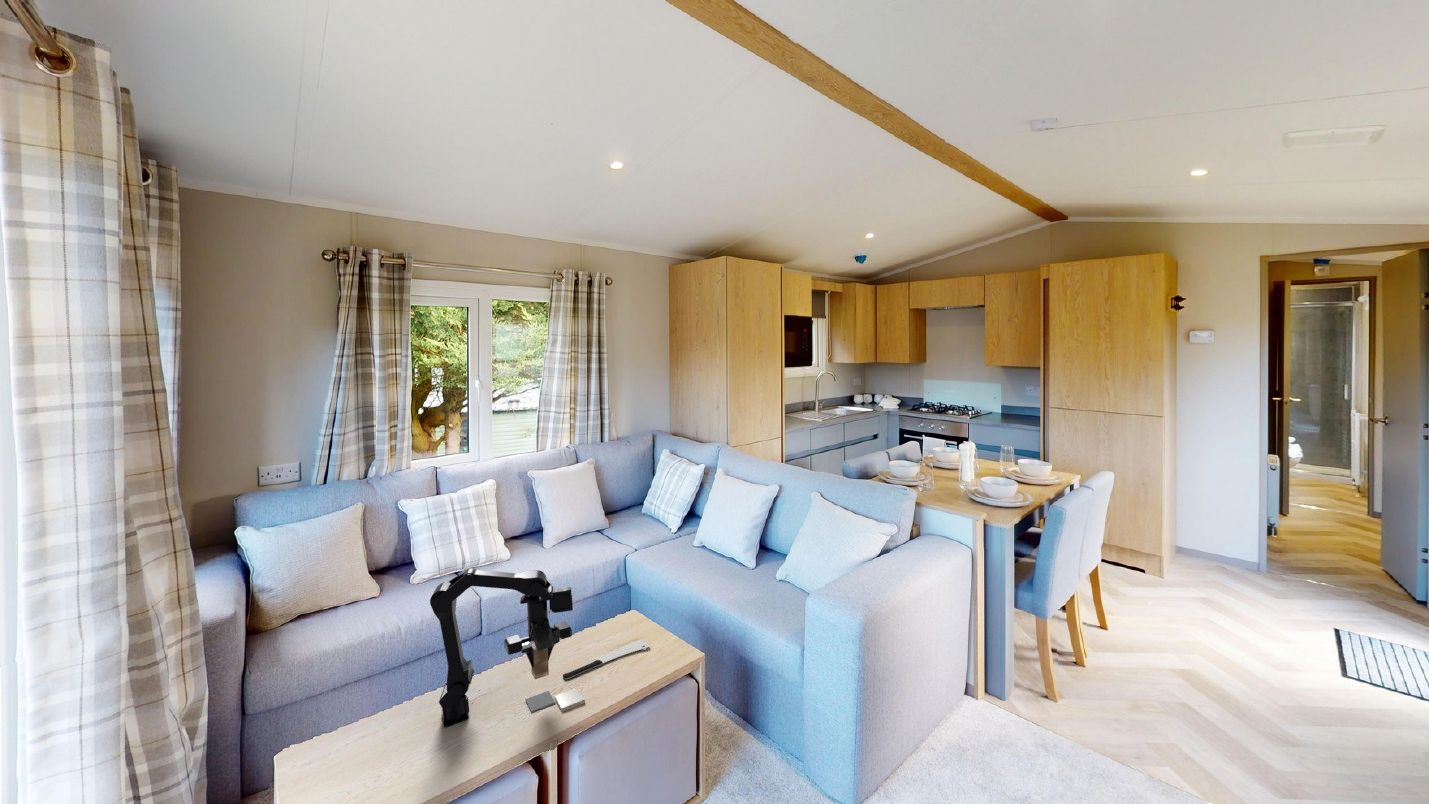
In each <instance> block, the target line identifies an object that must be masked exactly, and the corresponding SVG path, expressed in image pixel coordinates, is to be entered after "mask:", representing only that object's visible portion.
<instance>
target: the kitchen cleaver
mask: <svg viewBox="0 0 1429 804" xmlns="http://www.w3.org/2000/svg"><path fill="white" fill-rule="evenodd" d="M649 648H650V645H649V644H648V643H647V642H646V641H644V640H642V639H637V640H635V641H632V642H630V643H627V644H626V645H623V646H620V647H618V648H616V649H614V650H611V651H608V652H606V653H604V654H602V655H599V656H597V657H595V658H593V659H594V661H593V662H591V663H588V664H586V665H583V666H582V667H578V668H576V669H574V670H571V671H569V672H565V673H563V674H562V679H563V680H564V681H568V680H569V681H570V680H571V679H574V678H575V677H577V676H580V675H582V674H585V673H587V672H589V671H592V670H594V669H596V668H598V667H601V666H603V665H604V664H605V663H608V662H610V661H613V660H615V659H618V658H620V657H623V656H626V655H629V654H632V653H634V652H638V651H642V650H645V649H649Z"/></svg>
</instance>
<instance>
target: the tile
mask: <svg viewBox="0 0 1429 804" xmlns="http://www.w3.org/2000/svg"><path fill="white" fill-rule="evenodd" d="M554 701H555V703H556V704H557V706H558V708H559V709H560V711H561V712H565V711H567V710H570V709H573V708H575V707H577V706H581V705H584V704H585V703H586V701H585V698H584V696H583V695H582V693H581V692H580V690H579V688H578V687H575V688H573V689H570V690H567V691H565V692H562V693H559V694H557V695H555V696H554Z"/></svg>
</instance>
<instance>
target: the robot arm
mask: <svg viewBox="0 0 1429 804" xmlns="http://www.w3.org/2000/svg"><path fill="white" fill-rule="evenodd" d="M547 578H548V577H547V575H546V574H545V572H544V571H543V570H538V569H537V570H526V571H521V572H507V571H506V572H505V571H496V570H495V571H494V570H493V571H492V570H484V569H476V568H468V569H466V570H465V571H463V572H462V573H460V574H458V575H456V576H454V577H453V578H452V579H450V580H448V581H446V582H441V583H440V584H438V585H437V586H436V588H435V590H434V591H433V593H432V594H431V596H430V599H429V603H430V604H429V605H430V606H431V609H432V612H433V614H434V616H435V617H436V618H437V619H438V621H439V626H440V630H441V635H442V640H443V647H444V651H445V657H446V662H447V675H446V676H447V677H446V683H445V684H444V686H443V689H442V692H441V695H440V698H439V700H438V703H439V705H440V707H441V720H442V725H443V728H446V727H450V726H453V725H455V724H458V723H461V722H464V721H467V720H468V719H469V718H470V717H469V713H470V703H469V702H470V701H469V697H468V695H466V694H467V692H468V691H469V688H470V685H471V684H472V680H473V677H474V675H475V670H474V669H473V660H472V659H470V660H466V659H465V657H464V653H463V647H462V641H461V636H460V631H459V625H458V620H457V615H456V612H457V600H458V599H457V598H459V597H460V596H461V595H462V594H463V593H464V592H466V591H467V590H468V589H469V588H470V587H476V588H477V587H480V588H482V587H483V588H491V589H503V590H512V591H513V590H514V591H516V592H518V593H520V594H522V596H521V597H520V601H519V603H520V604H521V605H523V604H526V605H527V606H526V607H527V616H526V617H527V618H526V620H527V633H528V635H527V636H525V637H520V636H519V634H515V635H511V636H508V637H506V638H505V639H504V642H503V644H504V649H505V651H506V652H507V655H510V656H512V655H513V654H518V653H521V654H525V655H526V657H527V659H528V662H529V664H530V667H531V666H532V667H533V665H534V663H533V656H532V648H531V644H532V643H533V644H534V643H535V646H536V649H537V650H539V651H541V650H543V649H546V648H548V662H549V661H550V657H551V655H552V652H553V650H554V647H555V646H556V645H557V644H558V643H560V639H561V640H565V639H567V638H568V639H569V638H572V637H573V632H572V631H573V630H572V627H571V626H570V624H568V622H567V621H565V620H564V621H561V622H557V623H555V624H554V625H553V626H552V627H551V626H550V622H549V617H548V615H549V613H548V602H549V611H551V613H553V614H559V613H565V612H572V611H574V610H573V595H572V587H566V588H560V589H559V588H558V589H554V586H553V585H552V584H551V583H550V581H548V579H547ZM532 667H531V668H532Z"/></svg>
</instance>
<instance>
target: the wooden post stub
mask: <svg viewBox="0 0 1429 804" xmlns="http://www.w3.org/2000/svg"><path fill="white" fill-rule="evenodd" d="M530 647H531V648H532V656H533V663H534V665H533V667H532V666H531V665H530V667H531V675H532V677H533V679H534V680H538V679H541V678H545V677H547V676H549V675H550V670H549V661H548V648H546V649H543V650H541V651H539V650H537V649H536V646H535V643H534V642H533V643H530Z"/></svg>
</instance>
